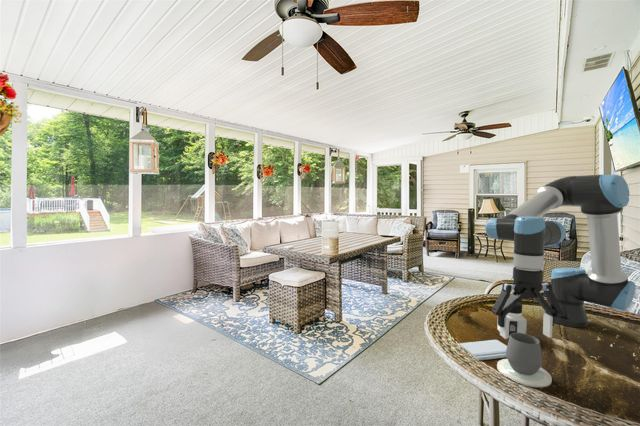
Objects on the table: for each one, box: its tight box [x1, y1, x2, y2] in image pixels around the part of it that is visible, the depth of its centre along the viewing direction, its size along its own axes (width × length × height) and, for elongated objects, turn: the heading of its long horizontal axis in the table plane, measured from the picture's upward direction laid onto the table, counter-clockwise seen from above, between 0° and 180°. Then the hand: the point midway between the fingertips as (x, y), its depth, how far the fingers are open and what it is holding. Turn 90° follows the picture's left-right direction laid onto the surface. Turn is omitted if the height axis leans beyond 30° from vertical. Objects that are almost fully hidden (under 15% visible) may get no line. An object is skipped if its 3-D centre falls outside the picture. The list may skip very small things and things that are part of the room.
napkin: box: [458, 339, 507, 361], centre depth 109 cm, size 16×10×1 cm, turn 102°
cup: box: [505, 333, 544, 375], centre depth 95 cm, size 10×9×10 cm
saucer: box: [496, 358, 553, 388], centre depth 95 cm, size 14×14×1 cm
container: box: [496, 301, 528, 339], centre depth 122 cm, size 8×8×13 cm
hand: (525, 336), depth 95 cm, fingers open, 13 cm apart
